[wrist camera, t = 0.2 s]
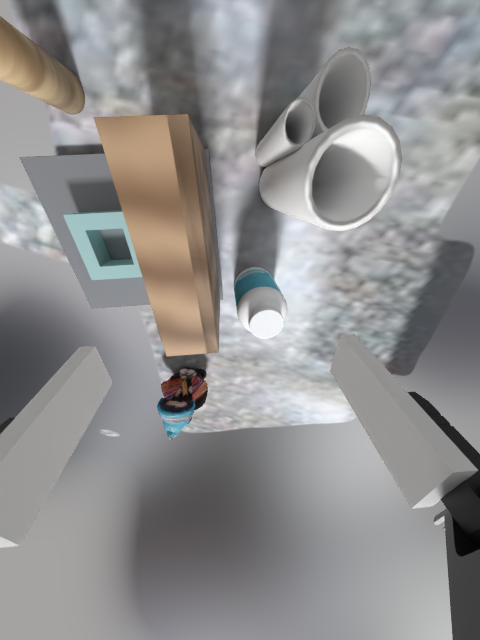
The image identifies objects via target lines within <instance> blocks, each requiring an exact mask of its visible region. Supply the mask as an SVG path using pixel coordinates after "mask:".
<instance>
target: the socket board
mask: <svg viewBox="0 0 480 640" xmlns="http://www.w3.org/2000/svg"><path fill="white" fill-rule="evenodd" d="M204 151H205V160H206V170H207V180H208V189H209V199H210V208H211V218H212V228H213V237H214V247H215V256H216V266H217V276H218V285H219V295H220V300H223V295H222V285H221V274H220V264H219V253H218V243H217V233H216V222H215V212H214V201H213V191H212V180H211V170H210V160H209V150H208V149H204ZM20 160H21V162H22V164H23V166H24V168H25V170H26V172H27V174H28V176H29V178H30V180H31V182H32V184H33V187H34V189H35V191H36V193H37V195H38V197H39V199H40V201H41V203H42V206H43V208H44V210H45V212H46V214H47V216H48V218H49V220H50V222H51V224H52V226H53V229H54V231H55V233H56V235H57V237H58V239H59V241H60V243H61V245H62V247H63V249H64V252H65V254H66V256H67V258H68V260H69V262H70V264H71V266H72V268H73V270H74V272H75V274H76V276H77V279H78V281H79V283H80V285H81V287H82V289H83V291H84V293H85V295H86V297H87V300H88V302H89V304H90V306H91V308H106V307H121V306H136V305H150V300H149V297H148V294H147V290H146V287H145V284H144V281H143V277H142V274H141V271H140V267H139V264H138V261H137V258H136V254H135V251H134V248H133V244H132V241H131V238H130V235H129V231H128V228H127V225H126V221H125V218H124V215H123V212H122V208H121V205H120V202H119V198H118V195H117V192H116V188H115V185H114V182H113V179H112V175H111V172H110V169H109V165H108V162H107V159H106V156H105V154H83V155H60V156H38V157H20Z"/></svg>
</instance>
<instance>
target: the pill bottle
mask: <svg viewBox="0 0 480 640" xmlns="http://www.w3.org/2000/svg"><path fill="white" fill-rule="evenodd" d="M234 291H235V299H236V307H237V315H238V319H239V321H240V323H241V324H242V326H243V327H245V328H246V329H247V330H249V331H251V332H252V334H253V335H255V336H256V337H259V338H271V337H273V336H275V335H277V334H278V333H279V332H280V331H281V330H282V328H283V325H284V320H285V318H286V315H287V303H286V300H285V298H284V297H283V295H282V293H281V291H280V290H279V288H278V286H277V284H276V283H275V281H274V279H273V277H272V276H271V274H270V273H269V272H268V271H266V270H265V269H263V268H259V267H251V268H248V269H245V270H244V271H242V272H241V273H240V274H239V275H238V276H237V278H236V280H235V284H234Z"/></svg>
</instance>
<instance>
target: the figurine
mask: <svg viewBox="0 0 480 640" xmlns="http://www.w3.org/2000/svg"><path fill="white" fill-rule="evenodd" d="M201 375H202V376H203V377H202V376H201ZM205 377H206V372H205V371H204V370H202V369H197V370H194V369H189V368H182V369H180V370H179V373H177V374H175V375H173V376H171V378H170V379H169V380H168V381H165V382H163V383H162V384H161V388H162V392H163V395H164V397H165V398H164V399H163V398H161V399H160V401H159V403H158V406H157V408H158V411H159V415H160V416H161V418H162V419H163V423H164V427H165V429H166V431H167V435H168V437H169V439H172V438H174V437H175V436H177V435H178V433H179V431H180V430H181V429H182V428H183V427H184V426H186V425H187V424H188V423H189V422H190V421H191V419H192V415H193V413H194V410H197V409H198V408H200V407H202V405H203V404H204V403H205V400H206V397H207V392H208V387H207V383H206V381H204V378H205Z"/></svg>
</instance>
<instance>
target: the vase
mask: <svg viewBox="0 0 480 640" xmlns="http://www.w3.org/2000/svg"><path fill="white" fill-rule="evenodd" d="M370 86H371V77H370V68H369V65H368V63H367V60H366V58H365V56H364V55H363V54H362V53H361V52H360V51H359V50H358V49H354V48H350V47H348V48H345V49H341V50H339V51H338V52H336V53H335V54H334V55H333V56H332V57H331V58H329V60H328V61H327V62H326V63H325V65H324V66H323V67H322V68H321V70H320V71H319V72H318V73H317V75H316V76H315V77H314V78H313V80H312V81H311V82H310V83H309V84H308V86H307V87H306V88H305V89H304V91H303V92H302V93H301V94H300V96H299V97H298V98H295V99H294V100H293V101H292V102H291V103H290V104H289V105H288V106H287V108H286V109H285V110H284V112H283V113H282V114H281V115H280V117H279V118H278V119H277V121H276V122H275V123H274V125H273V126H272V127H271V128H270V130H269V131H268V132H267V134H266V135H265V136H264V138H263V139H262V140H261V141H260V143H259V144H258V146H257V148H256V154H255V155H256V160H257V162H258V164H259V165H260V166H262V167H266V168H265V169H264V171H263V173H262V175H261V177H260V182H259V191H260V196H261V198H262V200H263V202H264V203H265V204H266V205H267V206H268V207H270V208H272V209H274V210H277V211H280V212H282V213H285V214H288V215H290V216H293V217H296V218H298V219H301V220H304V221H306V222H309V223H311V224H314V225H317V226H319V227H322V228H325V229H327V230H335V231H344V230H348V229H353V228H356V227H358V226H359V225H361V224H363V223H365V222H367V221H369V220H370V219H371V218H372V217H373V216H374V215H375V214H376V213H377V212H379V211H380V210H381V209H382V207H383V206H384V204H385V203H386V202H387V200H388V199H389V197H390V196H391V195H392V192H393V190H394V188H395V185H396V183H397V181H398V178H399V174H400V168H401V161H402V156H401V147H400V141H399V139H398V137H397V135H396V133H395V131H394V129H393V127H392V126H390V125H389V124H388V123H387V122H385V121H384V120H383V119H381V118H380V117H375V116H369V115H363V113H364V112H365V109H366V106H367V103H368V99H369V95H370Z"/></svg>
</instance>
